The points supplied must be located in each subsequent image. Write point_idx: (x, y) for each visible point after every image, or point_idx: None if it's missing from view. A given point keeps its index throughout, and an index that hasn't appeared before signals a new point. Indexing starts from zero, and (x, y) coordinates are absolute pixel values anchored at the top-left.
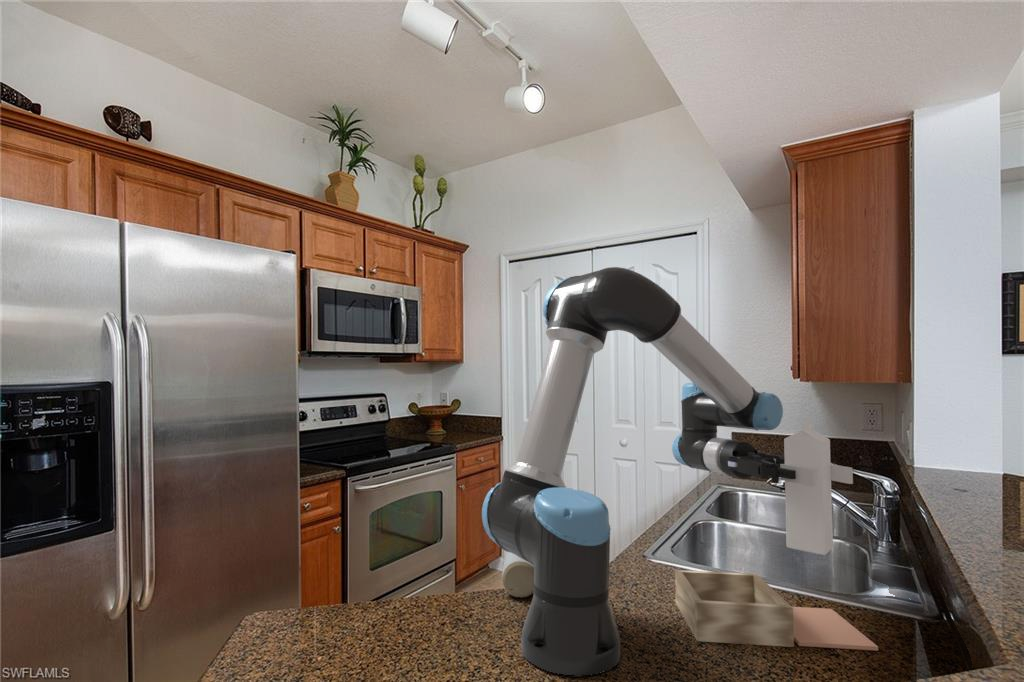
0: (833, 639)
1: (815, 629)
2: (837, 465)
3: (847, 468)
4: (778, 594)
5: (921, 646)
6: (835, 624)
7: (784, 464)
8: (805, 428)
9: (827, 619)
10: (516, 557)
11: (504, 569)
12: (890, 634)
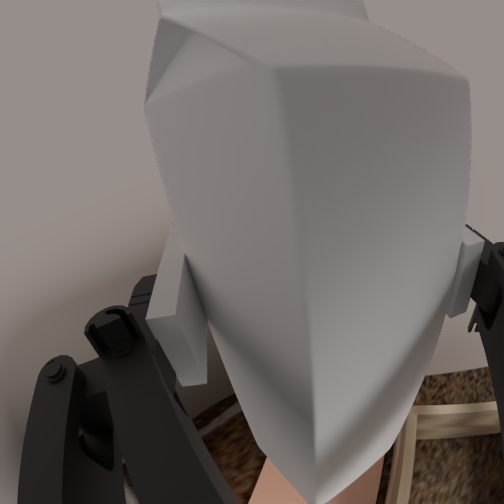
0: None
1: None
2: (171, 241)
3: None
4: (404, 455)
5: (208, 426)
6: (284, 483)
7: (464, 235)
8: (318, 6)
9: (282, 500)
10: None
11: None
12: (215, 458)
